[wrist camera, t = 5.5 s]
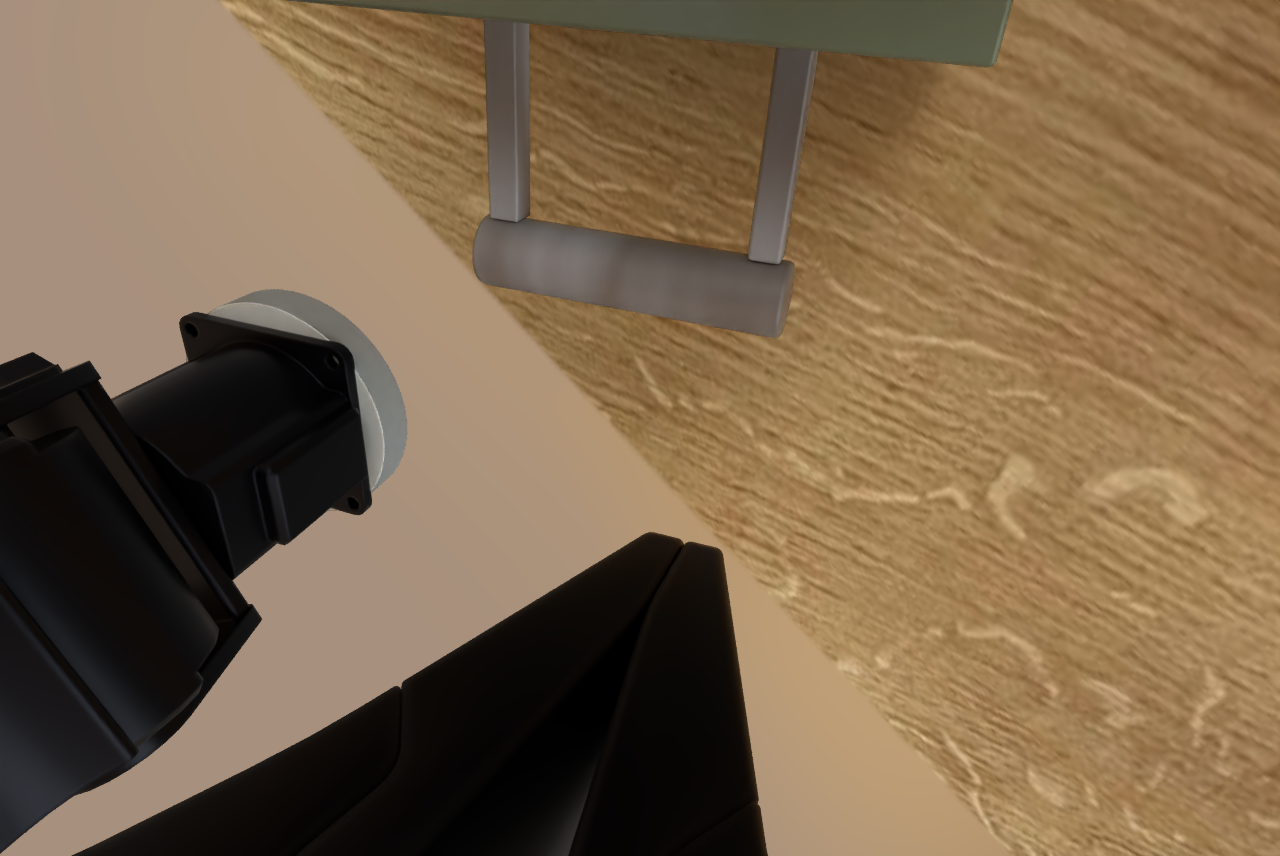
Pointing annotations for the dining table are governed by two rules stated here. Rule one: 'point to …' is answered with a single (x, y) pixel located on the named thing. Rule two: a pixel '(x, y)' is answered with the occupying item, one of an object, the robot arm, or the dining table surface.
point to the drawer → (761, 281)
